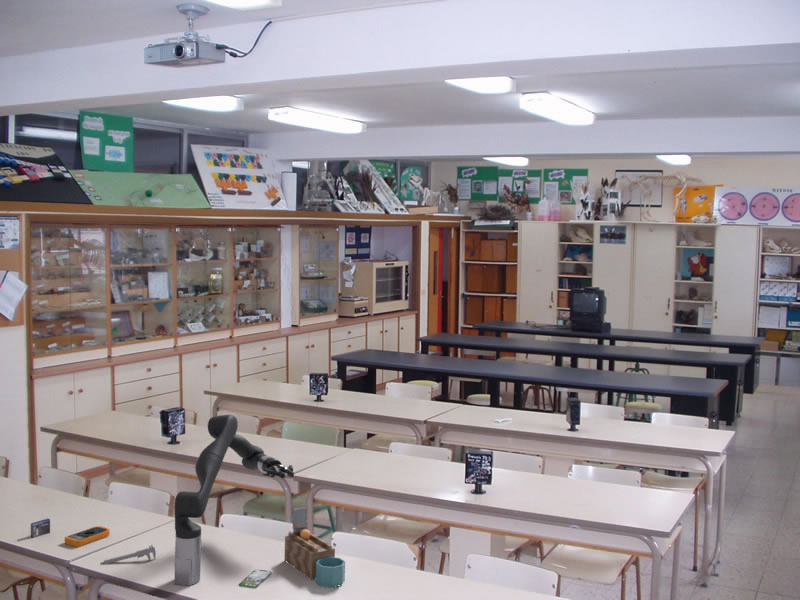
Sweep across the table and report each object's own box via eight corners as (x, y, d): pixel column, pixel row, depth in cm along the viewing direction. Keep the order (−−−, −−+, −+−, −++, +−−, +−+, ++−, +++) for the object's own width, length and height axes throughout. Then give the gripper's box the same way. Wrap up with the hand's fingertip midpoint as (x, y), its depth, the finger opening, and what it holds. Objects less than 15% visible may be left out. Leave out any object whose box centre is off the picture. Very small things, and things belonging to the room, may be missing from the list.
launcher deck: (284, 560, 320) (285, 532, 320) (306, 556, 326) (307, 528, 326) (311, 579, 302) (312, 549, 302) (334, 574, 308) (335, 544, 308)
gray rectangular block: (292, 535, 320) (293, 508, 319) (303, 533, 323) (304, 506, 322) (296, 537, 318) (296, 510, 317) (307, 535, 320) (307, 508, 320)
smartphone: (237, 585, 294) (255, 569, 309) (237, 587, 294) (255, 571, 309) (256, 587, 292) (272, 571, 307) (256, 590, 292) (272, 574, 307)
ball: (308, 541, 314) (309, 531, 314) (298, 540, 315) (299, 530, 315) (311, 538, 318) (311, 528, 318) (301, 537, 319) (302, 527, 319)
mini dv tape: (32, 538, 336) (33, 524, 336) (30, 537, 337) (30, 523, 337) (49, 532, 343) (50, 519, 343) (47, 532, 344) (47, 518, 344)
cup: (311, 579, 302) (312, 560, 302) (334, 574, 308) (335, 555, 308) (325, 589, 294) (325, 569, 293) (348, 583, 300) (349, 563, 299)
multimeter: (112, 536, 342) (112, 528, 342) (77, 548, 327) (77, 540, 326) (98, 532, 347) (98, 524, 346) (63, 544, 331) (63, 536, 330)
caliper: (155, 559, 318) (155, 543, 318) (155, 560, 317) (155, 544, 317) (100, 563, 312) (101, 547, 311) (100, 564, 311) (100, 548, 310)
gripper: (254, 459, 338) (273, 468, 324) (284, 455, 346) (303, 464, 332) (254, 476, 338) (272, 486, 324) (284, 472, 346) (303, 482, 332)
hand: (288, 475), depth 328 cm, fingers open, 3 cm apart
